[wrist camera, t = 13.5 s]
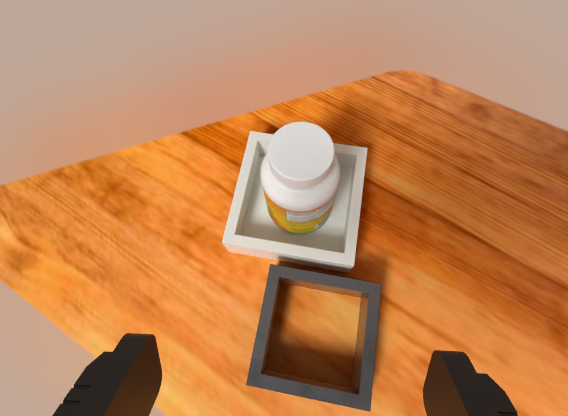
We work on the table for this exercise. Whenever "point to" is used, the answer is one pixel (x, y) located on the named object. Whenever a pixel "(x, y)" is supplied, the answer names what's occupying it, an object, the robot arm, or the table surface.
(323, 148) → the supplement bottle
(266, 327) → the holder sleeve
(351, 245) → the tray
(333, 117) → the table surface
